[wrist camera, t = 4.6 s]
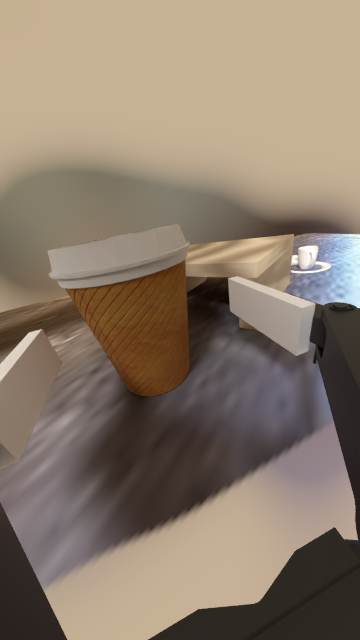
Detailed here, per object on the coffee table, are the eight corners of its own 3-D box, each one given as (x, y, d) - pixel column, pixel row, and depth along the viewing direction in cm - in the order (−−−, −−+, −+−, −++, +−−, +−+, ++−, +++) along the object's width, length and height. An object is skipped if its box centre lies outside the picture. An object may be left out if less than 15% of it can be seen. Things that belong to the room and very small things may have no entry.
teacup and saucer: (284, 264, 43) (286, 245, 41) (328, 262, 39) (332, 240, 37) (279, 276, 37) (281, 254, 35) (332, 275, 33) (336, 250, 31)
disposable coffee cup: (170, 332, 24) (146, 229, 19) (229, 367, 17) (217, 216, 12) (95, 372, 20) (36, 252, 14) (132, 442, 13) (40, 253, 7)
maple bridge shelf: (147, 310, 32) (135, 265, 29) (198, 279, 43) (194, 244, 39) (256, 330, 21) (257, 262, 18) (289, 283, 32) (293, 234, 28)
